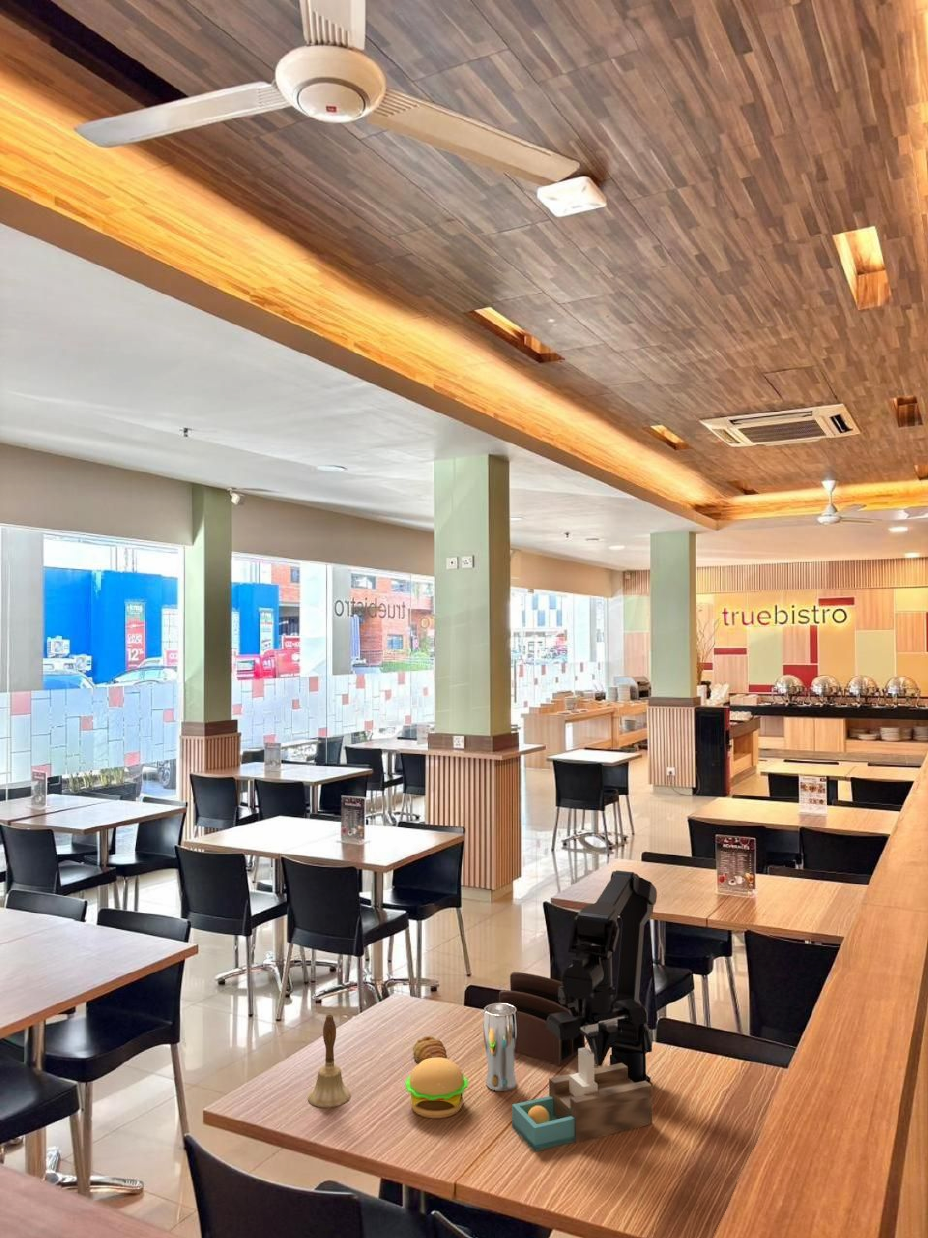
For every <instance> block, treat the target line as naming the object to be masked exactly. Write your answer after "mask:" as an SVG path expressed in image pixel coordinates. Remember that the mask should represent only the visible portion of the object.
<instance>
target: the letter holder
mask: <svg viewBox="0 0 928 1238" xmlns="http://www.w3.org/2000/svg"><path fill="white" fill-rule="evenodd" d="M509 980H510V981H509V986H510V990H507V989H502V990H500V991H499V992H498V1003H507V1004H511V1005H513V1006H515V1007H516V1009H517V1022H518V1039H517V1047H516V1053H518V1054H519V1053H520V1054H522V1055H525V1056H529V1057H530V1058H531V1057H532V1058H534V1059H538V1060H540V1061H543V1062H546V1063H548V1062H549V1064H552V1065H554V1064H555V1066H557V1065H558V1066H557V1067H562V1066H564V1065H565V1064H568V1062H569V1061H570V1062H571V1060H573V1059H575V1058H576V1057H578V1049H579V1048H584V1047H586V1038H585V1036H584V1035H583V1034H581V1033H580V1034H579V1035H578V1037H577V1038H573V1039H568V1040H560V1039H559V1038H558V1037H556V1036H555V1035H554V1034H553V1033H551V1032H550V1031H549V1030H547V1019H548V1017H549V1015H550V1014H554V1013H559V1012H564V1011H566V1012H568V1013H569V1014H571V1015H572V1016H573V1017H576V1016H581V1015H582V1012H577V1011H576V1010H575V1007H571V1008H568V1004H560V1002H559V998H558V987H562V986H563V982H562V981H560V980H556V979H554V978H550V977H547V976H542V975H537V974H533V973H527V972H519V971H517V972H516V971H512V972H511V973H510V975H509Z"/></svg>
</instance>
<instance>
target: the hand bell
mask: <svg viewBox="0 0 928 1238" xmlns="http://www.w3.org/2000/svg"><path fill="white" fill-rule="evenodd" d="M334 1019H335V1018H334V1015H333V1014H332V1013H331V1014H327V1015H326V1016H325V1021H324V1024H323V1027H322V1039H323V1043H324V1045H325V1059H324V1060H325V1062H324V1063H325V1064H324V1066H321V1067H319V1068H318V1071H317V1078H316V1083H315V1086H314V1088H313V1089H312V1090H311V1091H310V1092H309V1094H308V1096H307V1100H308V1102H309V1103H310V1104H311V1105H312V1106H314V1107H318V1108H322V1109H323V1108H327V1109H329V1108H336V1107H338V1106H339V1107H340V1106H342V1105H344V1104H346V1103H347V1102H348V1101H350V1099H351V1097H352V1094H351V1092H350V1090H349V1088H347V1087H346V1086H345V1084H344V1081H343V1077H342V1076H343V1075H342V1069H341V1067H340V1066H339V1065H336V1064H335V1057H334V1056H335V1054H334V1051H335V1050H334V1049H335V1048H334V1047H335V1042H336V1039H337V1026H336V1022H335V1020H334Z"/></svg>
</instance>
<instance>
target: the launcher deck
mask: <svg viewBox="0 0 928 1238" xmlns="http://www.w3.org/2000/svg"><path fill="white" fill-rule="evenodd" d="M576 1073H579V1071H578V1072H573V1073H568V1074H563V1075H558V1076H555V1077H554V1076H553V1077H550V1078H549V1079H548V1092H549V1093H548V1096H551V1097H552V1098H553V1115H554V1116H555V1117H556V1118H557V1119H561V1118H565V1117H570V1116H572V1117H573V1118H574V1119H575V1143H576V1144H578V1143H581V1142H585V1141H589V1140H594V1139H598V1138H602V1137H605V1136H608V1135H614V1134H617V1133H622V1132H626V1131H630V1130H633V1129H637V1128H641V1127H645V1126H649V1125H653V1098H652V1097H653V1094H652V1093H653V1090H652V1087H653V1086H652V1084H651V1083H649V1081H648V1082H647V1081H641V1082H637V1083H634V1082H633V1081H632V1080H630V1079H629V1078H628V1067H627V1066H626V1065H624V1064H623V1063H618V1064H613V1065H610V1064H609V1065H605V1066H599V1067H594V1081H595V1082H596V1083H597V1084H598V1091H597V1092H593V1093H588V1094H584V1095H580V1096H574V1095H573V1094H572V1093H571V1092H569V1075H571V1074H576Z"/></svg>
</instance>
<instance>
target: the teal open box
mask: <svg viewBox="0 0 928 1238" xmlns="http://www.w3.org/2000/svg"><path fill="white" fill-rule="evenodd" d="M534 1106H542V1107H544V1108H545V1109H546V1110H547V1111H548V1113H549V1117H550V1121H549V1122H544V1123H540V1124H536V1123H535V1122H534V1121H533V1120H532V1119H531V1118H530V1117H529V1116H528V1112H529V1110H530V1109H531V1108H532V1107H534ZM511 1128H513V1129H514V1131H515V1132H517V1134H518V1135H519V1136H520V1137H521V1138H522V1140H524V1141H525V1142H526V1144H527V1145H528V1146H529V1147H530V1148H531V1149H532V1150H533V1151H534V1152H539V1151H542V1150H547V1149H549V1148H554V1147H558V1146H563V1145H566V1144H571V1143H574V1142H575V1119H574V1118H573V1117H572V1116H570V1117H565V1118H561V1119H557V1118H556V1117H555V1116H554V1115H553V1098H552V1097H551V1096H549V1095H548V1096H544V1097H540V1098H534V1099H531V1100H527V1101H522V1102H518V1103H513V1104H511ZM575 1143H576V1142H575Z"/></svg>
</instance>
